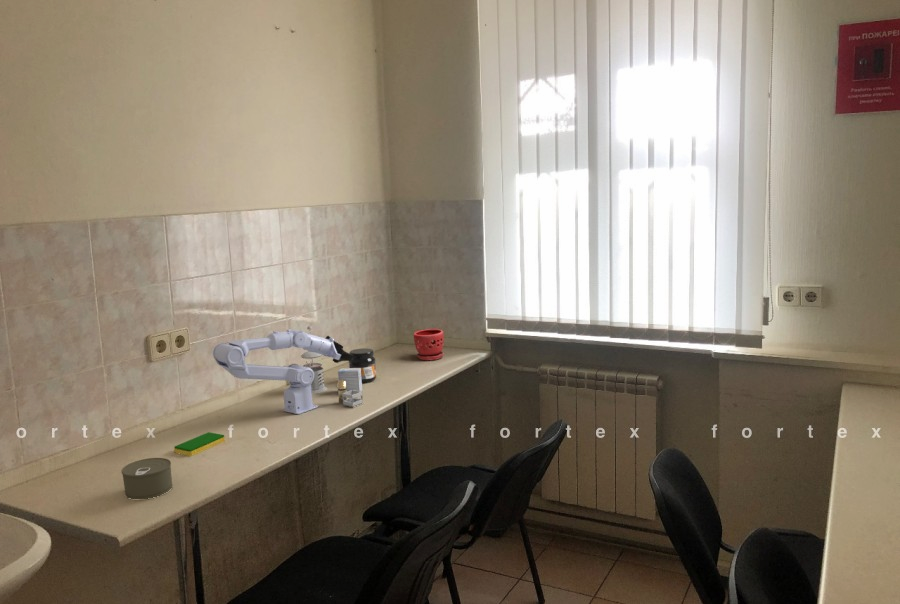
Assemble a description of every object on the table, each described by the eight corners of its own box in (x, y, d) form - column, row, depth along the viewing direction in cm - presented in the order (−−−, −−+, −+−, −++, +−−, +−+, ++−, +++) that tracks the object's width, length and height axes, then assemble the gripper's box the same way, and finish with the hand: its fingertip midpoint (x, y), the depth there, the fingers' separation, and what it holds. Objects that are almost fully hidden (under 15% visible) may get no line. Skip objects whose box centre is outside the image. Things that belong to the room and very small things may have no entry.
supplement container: (372, 384, 286) (370, 354, 284) (346, 383, 288) (344, 354, 286) (379, 376, 296) (377, 347, 294) (354, 376, 298) (352, 347, 296)
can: (179, 480, 199) (177, 456, 198) (164, 499, 188) (161, 474, 186) (135, 482, 199) (132, 458, 198) (116, 502, 187) (113, 476, 186)
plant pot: (432, 353, 332) (430, 327, 330) (450, 357, 322) (449, 331, 320) (409, 358, 324) (407, 332, 322) (427, 363, 314) (425, 336, 312)
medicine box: (362, 389, 279) (361, 367, 277) (359, 393, 274) (358, 370, 273) (342, 390, 279) (340, 368, 278) (339, 393, 275) (337, 371, 274)
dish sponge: (174, 454, 220) (173, 446, 220) (209, 439, 232) (208, 431, 232) (190, 457, 217) (190, 449, 217) (225, 442, 229) (225, 434, 229)
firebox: (353, 407, 257) (352, 395, 256) (343, 405, 260) (342, 393, 259) (363, 403, 261) (362, 391, 260) (353, 401, 264) (352, 389, 263)
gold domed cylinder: (343, 404, 261) (341, 382, 260) (336, 403, 263) (335, 381, 262) (349, 402, 264) (347, 380, 262) (343, 400, 265) (341, 379, 264)
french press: (330, 386, 286) (325, 323, 282) (322, 394, 274) (317, 329, 270) (305, 386, 287) (300, 323, 283) (296, 395, 275) (291, 329, 271)
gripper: (331, 343, 254) (360, 352, 263) (312, 326, 264) (342, 335, 274) (321, 361, 255) (352, 369, 264) (304, 343, 265) (333, 351, 274)
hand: (346, 353), depth 269 cm, fingers open, 7 cm apart
